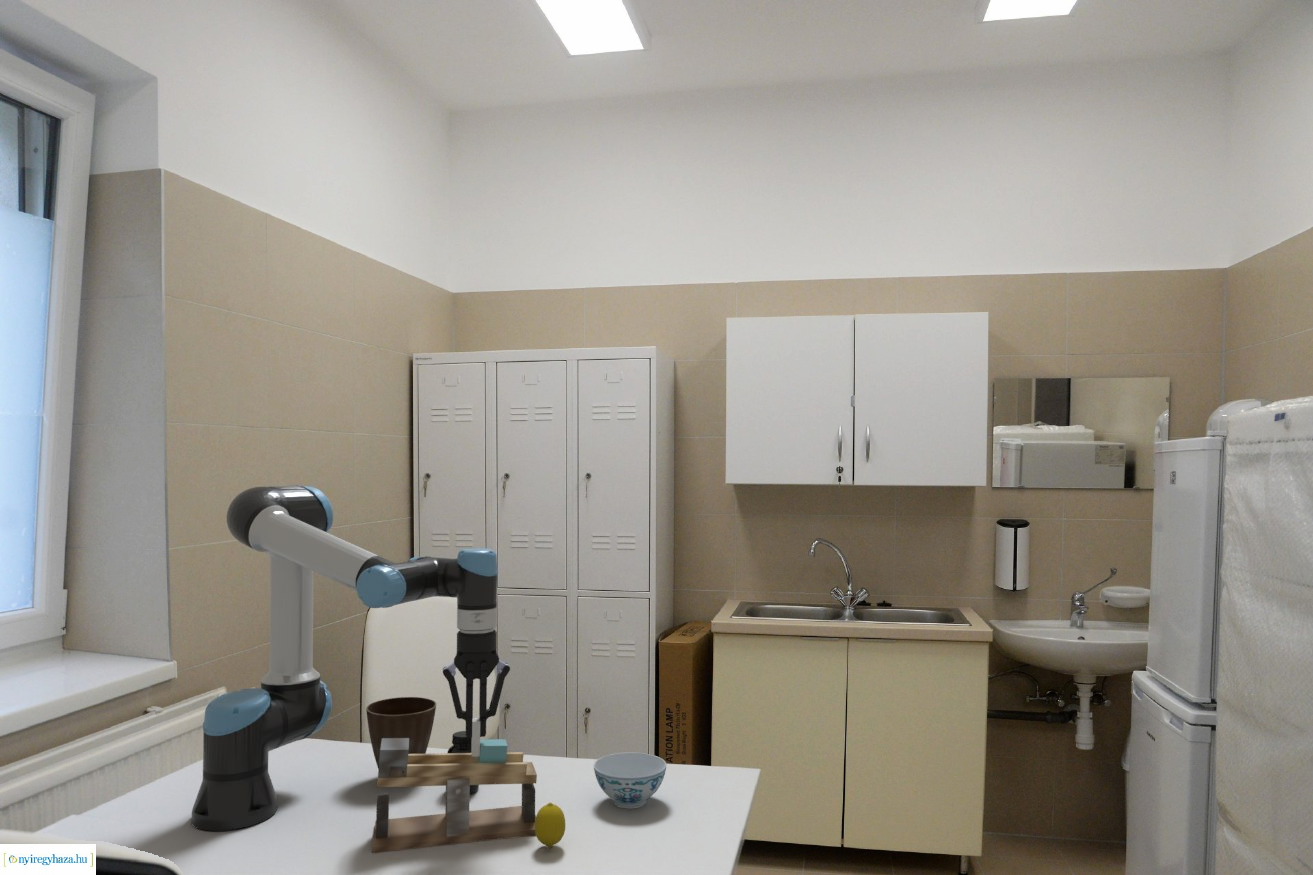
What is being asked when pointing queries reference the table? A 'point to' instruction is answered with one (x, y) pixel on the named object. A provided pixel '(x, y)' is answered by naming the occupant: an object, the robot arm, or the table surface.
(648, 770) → the chinaware
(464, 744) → the supplement bottle
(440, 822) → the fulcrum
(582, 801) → the table surface
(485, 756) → the block
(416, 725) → the plant pot
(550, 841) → the lemon
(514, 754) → the beam
